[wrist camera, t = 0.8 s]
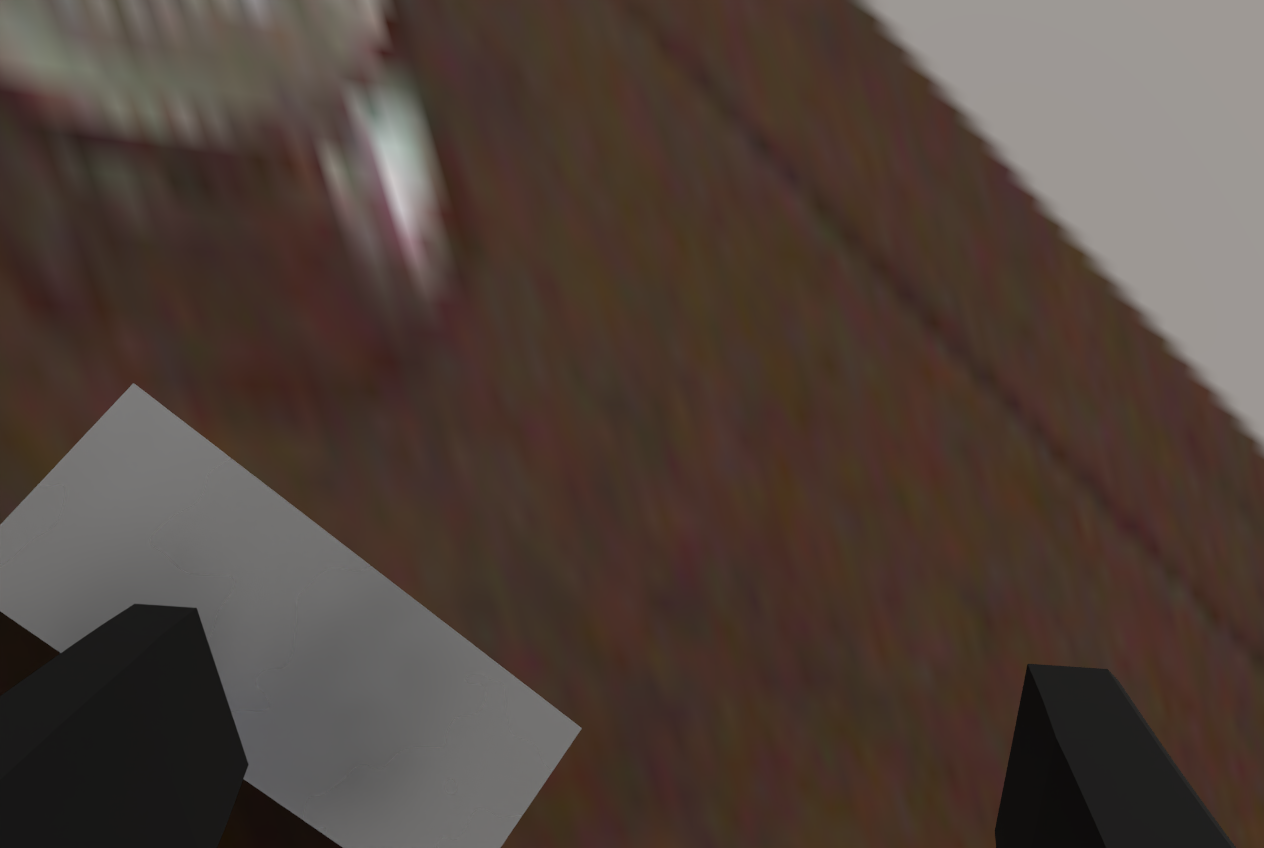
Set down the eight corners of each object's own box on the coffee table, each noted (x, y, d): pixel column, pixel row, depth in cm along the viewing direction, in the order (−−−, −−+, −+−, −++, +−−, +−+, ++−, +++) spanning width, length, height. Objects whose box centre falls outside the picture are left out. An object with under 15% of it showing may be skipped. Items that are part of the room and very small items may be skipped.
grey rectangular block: (403, 854, 23) (450, 921, 19) (-4, 570, 21) (-50, 577, 17) (515, 697, 25) (581, 728, 21) (142, 412, 22) (133, 383, 18)
